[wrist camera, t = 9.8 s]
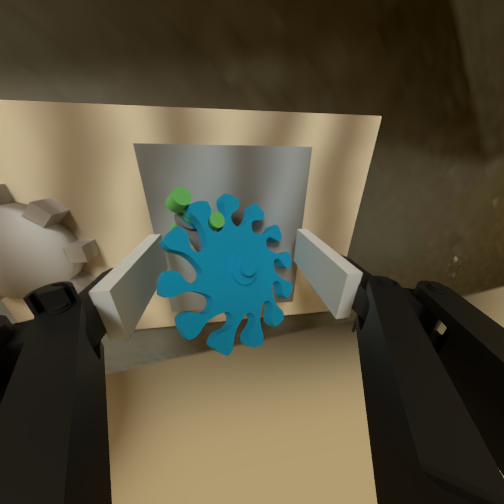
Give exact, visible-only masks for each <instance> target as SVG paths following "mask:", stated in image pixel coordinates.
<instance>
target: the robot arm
mask: <svg viewBox="0 0 504 504" xmlns="http://www.w3.org/2000/svg"><path fill="white" fill-rule="evenodd" d="M161 240H162V236H161V234H150V235H149V236H148V237H147V238H146V239H144V240H143V241H142V242H141V243H140V244H139V245H138V246H137V247H136V248H135V249H134V250H133V251H132V252H131V253H129V254H128V255H127V256H126V257H125V258H124V259H123V260H122V261H121V262H120V263H119V264H118V265H117V266H116V267H115V268H110V269H109V270H107V271H105V272H103V273H101V274H100V275H99V276H98V277H97V278H96V279H95V280H93V281H92V282H91V283H90V285H88V286H87V287H86V288H84V289H83V290H82V291H81V292H80V293H79V294H78V293H77V291H76V289H75V287H74V285H73V283H72V282H69V281H62V282H56V283H51V284H48V285H45V286H42V287H40V288H37V289H35V290H33V291H32V292H30V293H28V294H27V295H26V296H25V297H24V298H23V300H24V301H25V303H26V304H27V306H28V308H29V309H30V311H31V312H32V314H33V315H34V319H31V320H27V321H23V322H19V323H15V324H12V323H11V322H10V320H9V319H8V318H7V316H3V315H0V504H112V500H111V480H110V461H109V443H108V442H109V441H108V421H107V402H106V382H105V363H104V347H103V344H102V342H101V339H102V338H103V336H104V335H105V333H107V335H108V337H109V339H110V341H111V342H112V341H122V340H129V338H130V337H131V335H132V333H133V331H134V329H135V327H136V326H137V324H138V322H139V320H140V318H141V317H142V315H143V313H144V311H145V309H146V307H147V306H148V304H149V302H150V300H151V298H152V296H153V295H154V293H155V291H156V289H157V281H158V278H159V275H160V273H162V272H165V271H167V269H168V264H167V259H166V254H165V251H164V250H163V249H162V248H161V247H160V245H159V243H160V242H161ZM294 261H295V263H296V264H297V266H298V267H299V268H300V270H301V271H302V273H303V274H304V275H305V277H306V278H307V280H308V281H309V282H310V284H311V285H312V286H313V288H314V289H315V291H316V292H317V293H318V295H319V296H320V298H321V299H322V300H323V302H324V303H325V305H326V306H327V307H328V309H329V310H330V311H331V313H332V314H333V316H334V317H335V318H336V319H340V318H349V317H350V314H351V311H352V309H353V310H354V311H355V312H356V313H357V316H356V319H355V322H354V325H353V328H352V332H354V331H355V329H356V330H357V339H358V347H359V355H360V363H361V372H362V380H363V388H364V396H365V404H366V413H367V420H368V429H369V437H370V446H371V454H372V462H373V470H374V479H375V486H376V495H377V502H378V504H504V478H503V476H502V474H503V475H504V328H503V327H502V326H500V325H499V324H498V323H496V322H495V321H494V320H492V319H491V318H489V317H488V316H487V315H485V314H484V313H483V312H481V311H480V310H479V309H477V308H476V307H475V306H473V305H472V304H470V303H469V302H468V301H467V300H465V299H464V298H462V297H461V296H460V295H458V294H457V293H456V292H454V291H453V290H451V289H450V288H448V287H446V286H444V285H442V284H440V283H436V282H433V281H419V282H418V283H417V285H416V288H415V289H409V288H402V287H401V286H400V285H399V283H397V282H396V281H394V280H392V279H389V278H387V277H383V276H372V275H371V274H370V273H368V272H367V271H366V270H364V269H363V268H362V267H360V266H359V265H358V264H356V263H354V261H352V260H351V259H350V258H348V257H346V256H343V255H341V254H340V255H339V254H338V253H337V252H336V251H334V250H333V249H332V248H331V247H329V246H328V245H327V244H325V243H324V242H323V241H322V240H320V239H319V238H318V237H317V236H315V235H314V234H313V233H311V232H310V231H309V230H308V229H297V236H296V244H295V253H294ZM441 322H442V323H443V324H444V325H445V326H446V327H447V329H446V330H445V332H444V334H443V335H441V334H440V333H439V332H438V331H437V329H438V327H439V325H440V324H441ZM498 468H499V469H498ZM499 470H500V471H501V472H500V471H499ZM501 473H502V474H501Z"/></svg>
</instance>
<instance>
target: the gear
mask: <svg viewBox="0 0 504 504" xmlns="http://www.w3.org/2000/svg"><path fill="white" fill-rule="evenodd" d="M191 199H192V198H191V194H190V192H189V191H188V190H187V189H185V188H183V187H176V188H175V189H174V190H173V191H172V192H171V194H170V195H169V196H168V198H167V199H166V201H165V204H166V207H167V208H168V209H169V210H170V211H171V212H174V213H175V216H174V220H175V223H174V224H173V225H172V226H171V231H169V232H168V233H167V234H166V235H165V236H164V237H163V239H162V240H161V242H160V243H159V245H160V247H161V248H162V249H163V250H164V251H166V252H168V253H174V254H177V255H179V256H181V257H183V258H185V259H186V260H187V261H188V262H189V263H190V264H191V265H192V266H193V268H194V269H195V270H196V273H197V276H196V279H195V281H194V282H193V283H189V282H187V281H186V280H185V279H184V277H183V276H182V275H181V274H180V273H179V272H177V271H173V270H169V271H165V272H162V273H160V275H159V278H158V281H157V295H159V296H161V297H175V296H177V295H179V294H181V293H185V292H195V293H198V294H201V295H203V296H204V297H205V298H206V307H205V309H204V310H203V311H201V312H199V313H196V312H191V311H182V312H180V313H178V314H177V315H176V316H175V318H174V319H175V325H176V327H177V329H178V331H179V333H180V334H181V336H182V337H184V338H185V339H187V340H190V339H193V338H195V337H196V336H197V335H198V334H199V333H200V332H201V330H202V328H203V327H204V326H205V324H206V323H207V322H208V321H209V320H210V319H212V318H213V317H215V316H217V315H219V314H221V313H225V315H226V323H225V325H224V326H223V327H222V328H220V329H217V330H215V331H213V332H212V333H211V334H210V335H209V337H208V339H207V345H208V346H209V347H210V348H212V349H214V350H216V351H218V352H220V353H222V354H224V355H227V356H228V355H229V354H230V353H231V351H232V349H233V346H234V338H235V333H236V330H237V328H238V325H239V324H240V322H241V321H242V319H243V318H244V317H245V315H246V314H247V316H248V322H247V325H246V326H245V328H244V329H243V330H242V332H241V335H240V342H241V344H244V345H247V346H250V347H256V346H260V345H262V344H263V340H264V335H263V332H262V329H261V323H260V316H261V310H262V305H263V303H264V305H265V310H264V316H263V319H264V322H265V324H266V325H269V326H274V327H275V326H277V325H279V324H280V323H281V322H282V320H283V319H284V313H283V311H282V310H281V309H280V308H279V307H278V306H277V304H276V302H275V299H274V296H273V291H272V285H273V286H274V290H275V294H276V296H277V297H279V298H289V296H290V294H291V292H292V288H293V285H292V283H291V282H290V281H286V280H284V279H282V278H281V277H280V276H279V275H278V274H277V272H276V271H275V269H274V266H273V263H274V264H275V265H276V267H277V268H279V269H283V268H290V266H291V256H290V253H289V252H282V253H275V252H273V251H271V250H269V249H268V247H267V245H266V241H267V242H269V243H273V242H276V241H280V240H281V239H282V235H281V232H280V229H279V227H278V225H272V226H270V227H267V228H266V229H265V230H264V232H263V233H262V234H256V233H255V232H254V231H253V230H252V223H255V222H258V221H260V220H262V219H263V218H264V212H263V211H262V209H261V208H260V207H259V206H258V205H257V204H256V203H254V204H252V205H250V206H248V207H247V208H246V209H245V211H244V217H243V220H242V222H241V224H240V225H239V226H236V225H234V224H233V222H232V220H231V215H232V213H233V212H235V211H236V210H237V209H238V208H239V200H238V199H237V198H236V197H234V196H232V195H229V194H226V193H224V194H223V195H222V196H220V197H219V198H218V199H217V201H216V205H217V208H218V212H217V211H215V212H212V213H211V207H210V205H209V203H208V202H207V201H197V202H194V203H191V204H189V203H190V202H191ZM215 230H217V231H216V232H215ZM190 243H191V244H192V246H193V247H194V248H195V250H196V251H197V252H195V251H194V250H193V249H192V248H191V246H190Z"/></svg>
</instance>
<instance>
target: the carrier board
mask: <svg viewBox="0 0 504 504" xmlns="http://www.w3.org/2000/svg"><path fill="white" fill-rule="evenodd" d="M381 118H382V116H368V115H345V114H321V113H298V112H274V111H251V110H227V109H204V108H180V107H157V106H134V105H110V104H87V103H63V102H40V101H16V100H0V300H2V301H3V302H4V304H5V305H6V306H7V308H8V309H9V311H10V312H11V313H12V315H13V316H14V318H15V319H16V320H17V322H18V323H19V322H23V321H27V320H31V319H34V315H33V314H32V312H31V311H30V309H29V308H28V306H27V304H26V303H25V301H24V300H23V298H24V297H25V296H26V295H27V294H28V293H30V292H32V291H33V290H35V289H37V288H40V287H42V286H45V285H48V284H51V283H56V282H62V281H69V282H72V283H73V285H74V287H75V289H76V291H77V293H78V294H79V293H80V292H81V291H82V290H83V289H84V288H86V287H87V286H88V285H90V283H91V282H92V281H93V280H95V279H96V278H97V277H98V276H99V275H100V274H101V273H103V272H105V271H107V270H109V269H110V268H115V267H116V266H117V265H118V264H119V263H120V262H121V261H122V260H123V259H124V258H125V257H126V256H127V255H128V254H129V253H131V252H132V251H133V250H134V249H135V248H136V247H137V246H138V245H139V244H140V243H141V242H142V241H143V240H144V239H146V238H147V237H148V236H149V235H150V234H161V236H162V239H163V237H164V236H165V235H166V234H167V233H168V232H169V231H171V226H172V225H173V224H174V223H175V220H174V216H175V213H174V212H171V211H170V210H169V209H168V208H167V207H166V204H165V201H166V199H167V198H168V196H169V195H170V194H171V192H172V191H173V190H174V189H175V188H176V187H183V188H185V189H187V190H188V191H189V192H190V194H191V198H192V199H191V202H190V203H189V204H191V203H194V202H197V201H207V202H208V203H209V205H210V207H211V213H212V212H215V211H217V212H218V208H217V205H216V201H217V199H218V198H219V197H220V196H222V195H223V194H224V193H226V194H229V195H232V196H234V197H236V198H237V199H238V200H239V208H238V209H237V210H236V211H235V212H233V213H232V215H231V220H232V222H233V224H234V225H236V226H239V225H240V224H241V222H242V220H243V217H244V211H245V209H246V208H247V207H248V206H250V205H252V204H254V203H256V204H257V205H258V206H259V207H260V208H261V209H262V211H263V212H264V218H263V219H262V220H260V221H258V222H255V223H252V230H253V231H254V232H255V233H256V234H262V233H263V232H264V230H265V229H266V228H267V227H270V226H272V225H278V227H279V229H280V232H281V235H282V239H281V240H280V241H276V242H273V243H269V242H267V241H266V245H267V247H268V249H269V250H271V251H273V252H275V253H282V252H289V253H290V256H291V266H290V268H283V269H279V268H277V267H276V265H275V264H274V263H273V266H274V269H275V271H276V272H277V274H278V275H279V276H280V277H281V278H282V279H284V280H286V281H290V282H291V283H292V285H293V288H292V292H291V294H290V296H289V298H279V297H277V296H276V294H275V290H274V286H273V285H272V291H273V296H274V299H275V302H276V304H277V306H278V307H279V308H280V309H281V310H282V311H283V313H284V315H293V314H304V313H314V312H325V311H330V310H329V309H328V307H327V306H326V305H325V303H324V302H323V300H322V299H321V298H320V296H319V295H318V293H317V292H316V291H315V289H314V288H313V286H312V285H311V284H310V282H309V281H308V280H307V278H306V277H305V275H304V274H303V273H302V271H301V270H300V268H299V267H298V266H297V264H296V263H295V261H294V253H295V244H296V236H297V229H308V230H309V231H310V232H311V233H313V234H314V235H315V236H317V237H318V238H319V239H320V240H322V241H323V242H324V243H325V244H327V245H328V246H329V247H331V248H332V249H333V250H334V251H336V252H337V253H338V254H339V255H340V254H341V255H343V256H346V257H347V254H348V250H349V246H350V242H351V238H352V234H353V230H354V226H355V222H356V218H357V214H358V210H359V206H360V202H361V198H362V194H363V190H364V186H365V182H366V178H367V174H368V170H369V166H370V162H371V158H372V154H373V150H374V146H375V142H376V138H377V134H378V130H379V126H380V122H381ZM216 231H217V230H215V232H216ZM190 246H191V248H192V249H193V250H194V251H195V252H197V251H196V250H195V248H194V247H193V246H192V244H191V243H190ZM165 254H166V259H167V264H168V269H167V271H169V270H173V271H177V272H179V273H180V274H181V275H182V276H183V277H184V279H185V280H186V281H187V282H189V283H193V282H194V281H195V279H196V276H197V273H196V270H195V269H194V268H193V266H192V265H191V264H190V263H189V262H188V261H187V260H186V259H185V258H183V257H181V256H179V255H177V254H174V253H168V252H166V251H165ZM205 307H206V298H205V297H204V296H203V295H201V294H198V293H195V292H185V293H181V294H179V295H177V296H175V297H161V296H159V295H157V289H156V291H155V293H154V295H153V296H152V298H151V300H150V302H149V304H148V306H147V307H146V309H145V311H144V313H143V315H142V317H141V318H140V320H139V322H138V324H137V326H136V327H135V329H134V330H136V329H147V328H157V327H168V326H176V325H175V319H174V318H175V316H176V315H177V314H178V313H180V312H182V311H191V312H196V313H199V312H201V311H203V310H204V309H205ZM264 310H265V305H264V303H263V305H262V310H261V316H260V318H262V317H263V316H264ZM243 319H248V316H247V314H246V315H245V317H244V318H243ZM220 321H226V315H225V313H221V314H219V315H217V316H215V317H213V318H212V319H210V320H209V321H208V322H207V323H209V322H220Z"/></svg>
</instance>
